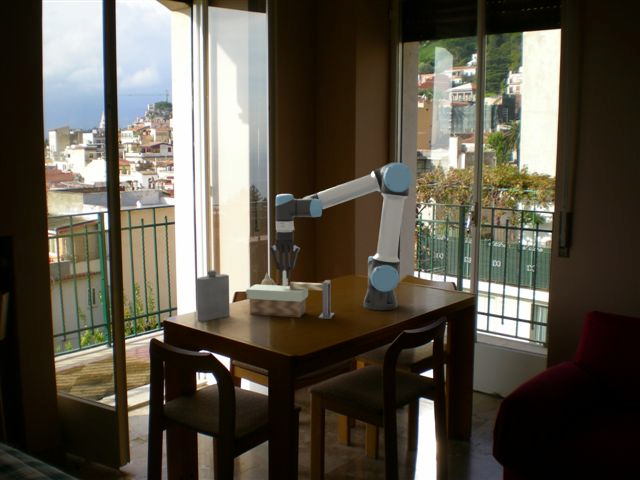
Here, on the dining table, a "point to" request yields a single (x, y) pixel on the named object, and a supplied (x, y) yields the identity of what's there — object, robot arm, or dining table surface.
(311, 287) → the light wooden bar
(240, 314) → the dining table surface
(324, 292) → the grey post stand
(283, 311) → the brown open box
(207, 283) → the flask
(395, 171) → the robot arm
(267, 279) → the toy
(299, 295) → the lid
